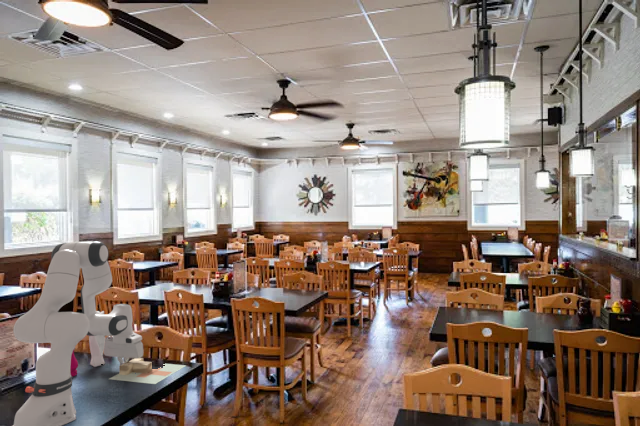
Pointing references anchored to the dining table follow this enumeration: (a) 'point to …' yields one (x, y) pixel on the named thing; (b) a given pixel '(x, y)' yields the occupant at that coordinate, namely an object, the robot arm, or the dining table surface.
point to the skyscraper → (97, 348)
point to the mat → (150, 374)
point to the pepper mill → (73, 365)
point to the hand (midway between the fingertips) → (123, 365)
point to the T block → (135, 367)
